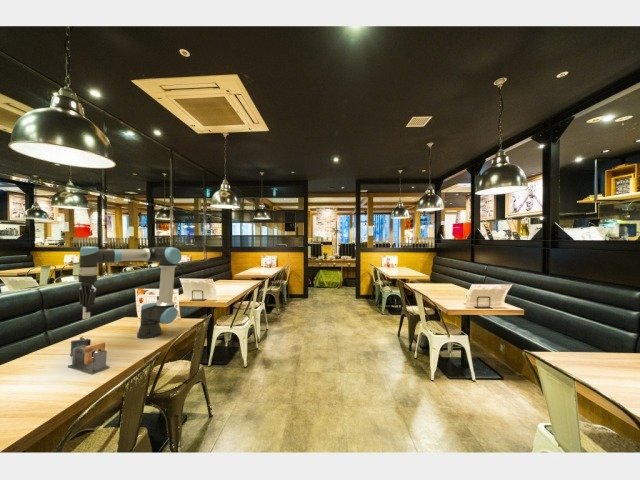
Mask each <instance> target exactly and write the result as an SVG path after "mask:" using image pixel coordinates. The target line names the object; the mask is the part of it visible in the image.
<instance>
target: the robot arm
mask: <svg viewBox="0 0 640 480" xmlns="http://www.w3.org/2000/svg"><path fill="white" fill-rule="evenodd" d="M182 257H183V255H182V252H181V251H180V249H179V248H177V247H172V246H157V247H144V248H141V249H140V248H139V249H137V248H133V249H127V248H125V249H121V248H120V249H118V248H117V249H114V248H113V249H112V248H109V249H107V248H106V249H105V248H104V249H103V248H99V247H98V246H81V247H80V249H79V264H78V265H79V269H78V272H79V273H78V274H79V275H78V283H80V286H77V290H78V299H79V305H80V306H82V320H86V319H91V306H94V304H95V301H96V297H97V292H98V291H99V289H98V287H96V286H95V282H96V283H97V281H98V275H97V274H98V267H99V264H114V263H119V262H125V261H126V262H129V261H131V262H132V261H143V262H150V263H151V262H152V263H157V264H158V267H159V268H160V278H159V292H158V302H157V301H156V302H149V303H145V304H142V305H141V308H140V323H139V324H140V325H139V328H138V330H137V333H136V337H137V338H138V339H151V338H152V337H153V338H156V337H158V335H159V336H161V335H162V334H161V333H162V332H163V331H162V328H161V324H163V325H164V324H165V325H167V324H171V323H173V322H174V321H175V320H176V318H177V317H178V309H177V308H176V307H175V302H174V301H173V298H174V297H173V296H174V285H175V284H174V283H175V270H176V269H175V268H176V267H178V264H179V263H180V262H181V260H182ZM160 334H161V335H160ZM155 336H156V337H155Z"/></svg>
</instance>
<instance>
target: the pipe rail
mask: <svg viewBox="0 0 640 480" xmlns="http://www.w3.org/2000/svg"><path fill="white" fill-rule="evenodd" d="M85 346H86V345H82V346H79V347H76V348H73V356H71V358H72V359H71V364H70V365H68V366H67V368H70V369H72V370H76V371H80V372H82V373H86V374H89V375H95V374H97V373H100V372H102V371H105V370H107V369H110V368H111V366H109V365H107V356H108V355H107V354H108V353H107V352H108V350H107V349H105V350H103V351H98V350H95V351H92V358H93V363H91V364H89V365H85V364H84V359H85Z"/></svg>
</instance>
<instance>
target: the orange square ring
mask: <svg viewBox="0 0 640 480" xmlns="http://www.w3.org/2000/svg"><path fill="white" fill-rule="evenodd" d="M95 350H97V351H103V350H106V341H99V342H95V343H92V344H90V345H89V346H85V359H84V364H85V365H89V364H91V363H93V357H92V351H95Z"/></svg>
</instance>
